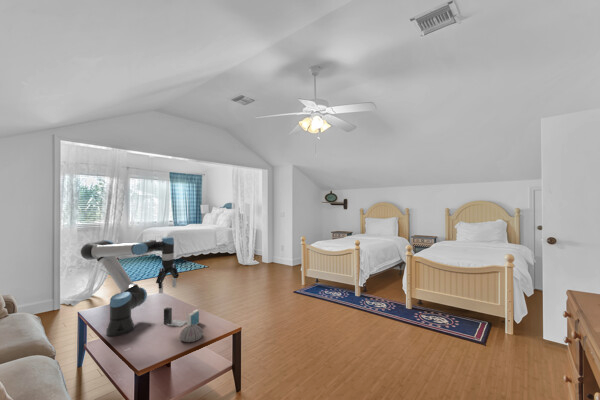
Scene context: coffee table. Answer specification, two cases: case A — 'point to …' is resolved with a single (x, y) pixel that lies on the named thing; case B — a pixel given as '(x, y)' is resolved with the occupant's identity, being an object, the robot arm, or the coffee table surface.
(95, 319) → the coffee table surface
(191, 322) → the tile
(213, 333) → the coffee table surface
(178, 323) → the grey l-shaped block
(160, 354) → the coffee table surface
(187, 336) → the sea urchin shell
